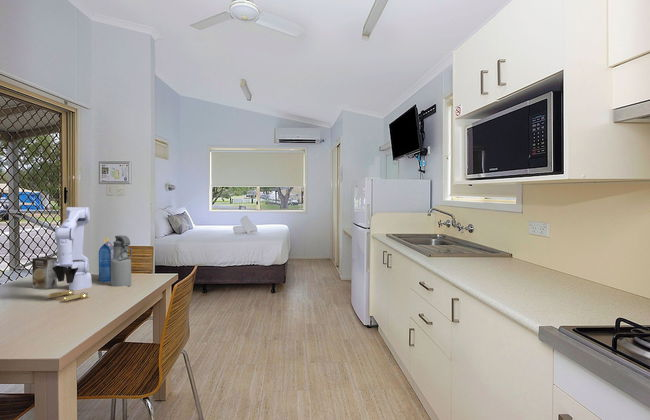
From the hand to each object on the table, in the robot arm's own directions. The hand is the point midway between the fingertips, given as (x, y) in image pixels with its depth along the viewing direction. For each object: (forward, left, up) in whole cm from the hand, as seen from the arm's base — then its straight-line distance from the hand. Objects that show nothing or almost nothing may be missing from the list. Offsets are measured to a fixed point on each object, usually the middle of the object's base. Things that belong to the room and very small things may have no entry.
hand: (65, 282), depth 163 cm
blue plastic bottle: (-36, -26, -10) cm, 45 cm away
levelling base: (-2, -1, -9) cm, 10 cm away
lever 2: (-2, +4, -8) cm, 9 cm away
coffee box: (-10, -38, -10) cm, 40 cm away
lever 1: (-2, -6, -8) cm, 11 cm away
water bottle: (-30, -4, -10) cm, 32 cm away
